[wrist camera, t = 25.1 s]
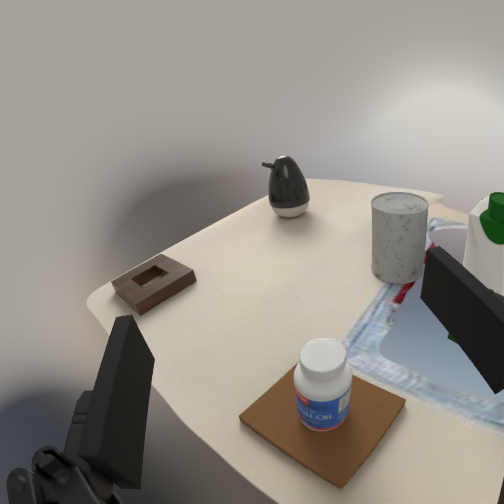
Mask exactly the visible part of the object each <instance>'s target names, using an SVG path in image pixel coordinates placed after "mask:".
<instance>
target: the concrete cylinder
mask: <svg viewBox="0 0 504 504" xmlns="http://www.w3.org/2000/svg"><path fill="white" fill-rule="evenodd" d="M371 205H372V272H373V274H374V275H375V276H376V277H377V278H379V279H380V280H382V281H384V282H388V283H392V284H407V283H411V282H414V281H416V280H417V279H419V278H420V277H421V275H422V274H423V264H424V254H425V244H426V231H427V215H428V205H429V204H428V201H427V200H426V199H425V198H423V197H421V196H419V195H416V194H412V193H406V192H389V193H383V194H380V195H377V196H375V197H374V198H373V199H372V200H371Z"/></svg>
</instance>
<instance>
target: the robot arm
mask: <svg viewBox="0 0 504 504" xmlns="http://www.w3.org/2000/svg"><path fill="white" fill-rule="evenodd" d="M420 298H421V299H422V300H423V302H424V303H425V304H426V305H427V306H428V307H429V309H430V310H431V311H432V312H433V314H434V315H435V316H436V317H437V318H438V319H439V321H440V322H441V323H442V324H443V325H444V327H445V328H446V329H447V331H448V332H449V333H450V334H451V336H452V337H453V338H454V339H455V341H456V342H457V343H458V345H460V347H461V348H462V350H463V351H464V352H465V354H466V355H467V356H468V358H469V359H470V360H471V361H472V363H473V364H474V366H475V367H476V368H477V370H478V371H479V372H480V374H481V375H482V376H483V378H484V379H485V381H486V382H487V383H488V385H489V386H490V388H491V389H492V390H493V392H494V393H495V394H497V393H498V392H500V391H501V390H503V389H504V296H502V295H500V294H498V293H497V292H496V293H494V294H493V293H492V292H491V291H490V290H489V289H488V288H487V287H486V286H485V285H484V284H483V283H481V282H480V281H479V280H478V279H477V278H476V277H475V276H474V275H473V274H472V273H470V272H469V271H468V270H467V269H466V268H465V267H464V266H462V265H461V264H460V263H459V262H458V261H457V260H456V259H454V258H453V257H452V256H451V255H449V254H448V253H447V252H446V251H445V250H444V249H442V248H441V247H440V246H438V247H434V248H430V249H427V253H426V261H425V269H424V277H423V284H422V290H421V297H420ZM154 361H155V358H154V357H153V355H152V353H151V351H150V349H149V347H148V345H147V343H146V341H145V340H144V338H143V336H142V334H141V332H140V330H139V328H138V326H137V324H136V322H135V320H134V318H133V316H132V314H131V315H126V316H120V317H116V319H115V322H114V325H113V328H112V331H111V334H110V337H109V340H108V343H107V346H106V349H105V353H104V356H103V359H102V362H101V365H100V369H99V372H98V375H97V379H96V382H95V386H94V389H93V390H91V391H84V392H83V394H82V395H81V397H80V398H79V399H78V401H77V404H76V407H75V410H74V415H73V418H72V421H71V422H72V424H71V425H70V429H69V433H68V436H67V440H66V444H65V449H64V453H62V452H61V451H60V450H59V449H58V448H56V447H54V446H44V447H42V448H40V449H39V450H38V451H37V452H36V453H35V455H34V457H33V459H32V464H31V465H32V471H33V472H34V473H35V474H31V473H30V472H28V471H27V470H26V469H23V468H16V469H14V470H13V471H12V472H11V473H10V474H9V476H8V479H7V492H8V499H9V504H124V503H123V502H122V501H121V499H120V498H119V497H118V495H117V494H116V493H115V492H114V491H113V483H114V484H116V485H117V486H119V487H120V488H122V489H141V475H142V463H143V451H144V440H145V431H146V422H147V413H148V404H149V397H150V389H151V382H152V375H153V368H154ZM497 504H504V479H503V483H502V487H501V492H500V496H499V500H498V503H497Z"/></svg>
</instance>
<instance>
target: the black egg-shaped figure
mask: <svg viewBox="0 0 504 504" xmlns="http://www.w3.org/2000/svg"><path fill="white" fill-rule="evenodd" d="M262 166H265V167H268V168H271V173H270V178H269V203H270V205H271V206H272V208H273V210H274V212H275V213H276V214H277V215H279V216H281V217H285V218H293V217H297V216H299V215H301V214H303V213H304V212H305V210H306V209H307V207H308V202H309V200H310V196H309V191H308V187H307V184H306V181H305V178H304V176H303V174H302V172H301V170H300V168H299V167H298V165H297V164H296V162H295V161H294V160H293V159H292V158H291V157H289V156H280V157H278V158H277V159H276V160H275V161H274V163H268V162H263V163H262Z"/></svg>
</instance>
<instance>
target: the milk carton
mask: <svg viewBox="0 0 504 504" xmlns="http://www.w3.org/2000/svg"><path fill="white" fill-rule="evenodd" d="M463 266H464V267H465V268H466V269H467V270H468V271H469V272H470V273H472V274H473V275H474V276H475V277H476V278H477V279H478V280H479V281H480V282H481V283H483V284H484V285H485V286H486V287H487V288H488V289H489V290H490V291H491V292H492V293H493V294H494V293H496V292H497V293H498V294H500V295H502V296H504V193H502V192H495V193H491V194H490V195H488V196H487V197H486V198H485V199H482V200H481V201H480V203H479V204H478V205H477V206H476V207H475V208H474V209H473V210H472V211H471V212H470V213H469V224H468V235H467V243H466V249H465V255H464V261H463ZM448 339H450V340H452V341H454V342H456V341H455V339H454V338H453V337H452V336H451V334H450V333H449V334H448ZM456 343H457V342H456ZM457 344H458V343H457Z"/></svg>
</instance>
